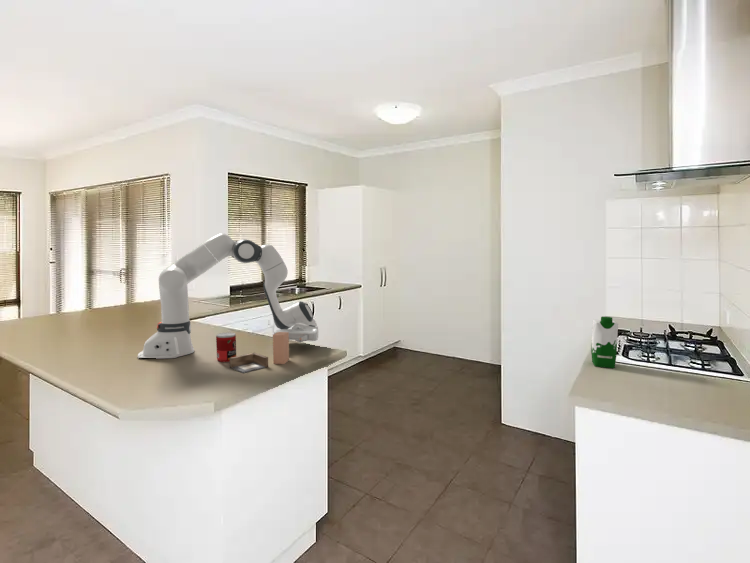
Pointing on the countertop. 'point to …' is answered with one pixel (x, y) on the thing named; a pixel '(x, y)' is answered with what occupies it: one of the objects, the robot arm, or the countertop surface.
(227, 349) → the canned food
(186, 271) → the robot arm
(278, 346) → the terracotta block
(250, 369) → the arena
